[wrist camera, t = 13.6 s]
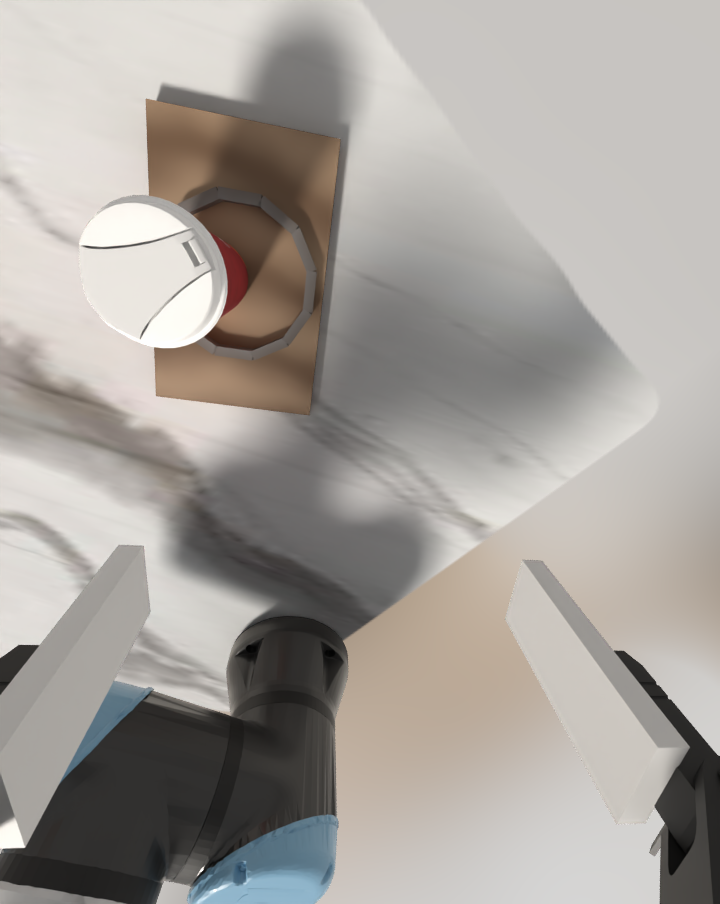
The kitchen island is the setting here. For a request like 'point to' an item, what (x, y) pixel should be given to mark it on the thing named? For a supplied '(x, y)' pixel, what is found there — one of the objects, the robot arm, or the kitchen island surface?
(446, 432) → the kitchen island surface
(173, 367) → the seat board
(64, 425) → the kitchen island surface
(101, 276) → the paper cup
